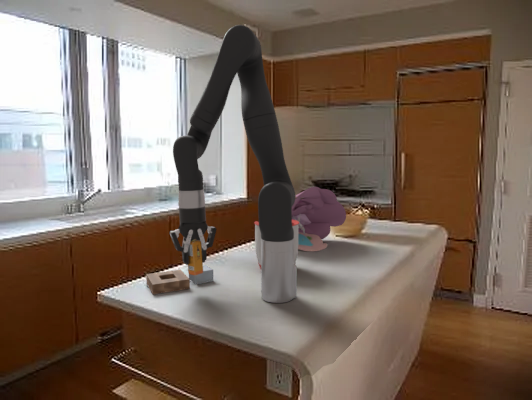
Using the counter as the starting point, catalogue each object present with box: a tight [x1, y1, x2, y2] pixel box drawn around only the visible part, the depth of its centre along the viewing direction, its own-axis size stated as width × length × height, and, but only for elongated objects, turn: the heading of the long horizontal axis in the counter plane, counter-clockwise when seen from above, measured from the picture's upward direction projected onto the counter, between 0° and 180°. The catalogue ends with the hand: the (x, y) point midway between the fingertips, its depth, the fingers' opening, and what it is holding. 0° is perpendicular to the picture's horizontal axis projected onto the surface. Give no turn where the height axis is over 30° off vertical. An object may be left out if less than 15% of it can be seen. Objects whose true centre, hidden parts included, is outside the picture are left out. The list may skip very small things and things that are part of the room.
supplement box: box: [187, 240, 204, 276], centre depth 119 cm, size 3×3×10 cm
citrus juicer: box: [253, 220, 299, 270], centre depth 142 cm, size 16×17×20 cm
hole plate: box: [145, 269, 191, 295], centre depth 126 cm, size 11×11×3 cm
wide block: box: [188, 264, 214, 285], centre depth 131 cm, size 6×6×4 cm
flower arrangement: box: [292, 186, 347, 252], centre depth 175 cm, size 35×24×28 cm
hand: (195, 262), depth 119 cm, fingers closed on supplement box, 4 cm apart
